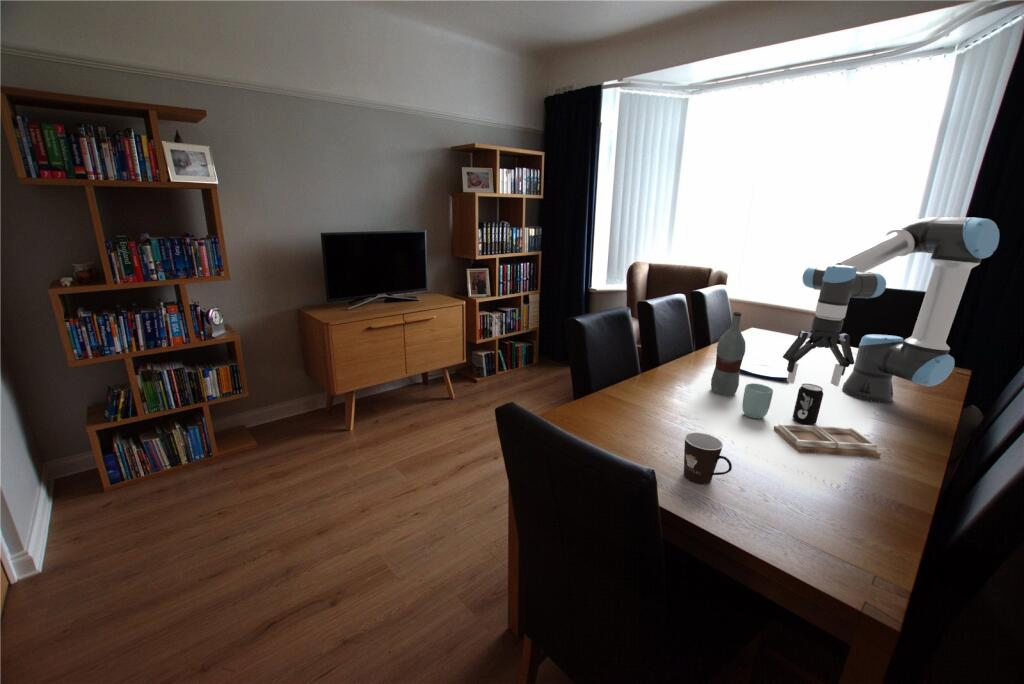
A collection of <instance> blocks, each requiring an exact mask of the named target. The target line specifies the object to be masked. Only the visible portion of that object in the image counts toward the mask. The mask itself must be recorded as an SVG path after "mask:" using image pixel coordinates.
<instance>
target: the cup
mask: <svg viewBox="0 0 1024 684" xmlns="http://www.w3.org/2000/svg"><path fill="white" fill-rule="evenodd" d="M773 393H774V390H773V388H772V387H769V386H767V385H764V384H761V383H756V382H755V383H754V382H753V383H747V384H746V385H745V387H744V391H743V396H742V404H741V405H742V407H741V408H742V413H743V414H744V415H745V416H746V417H749V418H751V419H755V420H758V419H759V420H760V419H763V418H765V417H766V416H767V415H768V412H769V410H770V407H771V403H772V399H773Z"/></svg>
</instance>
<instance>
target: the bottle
mask: <svg viewBox="0 0 1024 684" xmlns="http://www.w3.org/2000/svg"><path fill="white" fill-rule="evenodd" d="M732 314H733V315H732V318H731V324H730V327H729V328H728V329H727V330H726V331H725V332H724V333H723V334H722V335H721V336H720V338H719V340H718V342H717V346H716V355H715V356H716V357H715V367H714V370H713V373H712V377H711V379H710V389H711V392H712V393H713V394H716V395H719V396H723V397H734V396H735V395H736V393H737V391H738V390H739V388H738V387H739V385H740V372H741V371H740V367H741V364H742V360H743V357H745V354H746V341H745V338H744V336H743V333H742V332H741V329H740V324H741V318H742V312H740V311H733V313H732Z"/></svg>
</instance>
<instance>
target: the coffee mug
mask: <svg viewBox="0 0 1024 684" xmlns="http://www.w3.org/2000/svg"><path fill="white" fill-rule="evenodd" d="M723 447H724V444H723V442H722V440H720V439H719V438H718V437H715V436H714V435H711V434H707V433H703V432H689V433H686V434H685V435H684V454H683V455H684V456H683V458H684V459H683V476H684V478H685V479H686V480H687V481H689V482H691V483H693V484H696V485H709V484H710V483H711V482H712V479H713V476H721V475H722V476H724V475H726V474H729V473H730V472H731V471H732V468H733V465H732V462H731V460H730V459H729V458H727V456H724V455H721V452H722V449H723ZM720 459H722V460H724V461H726V462H727V465H728V469H727V470H725V471H721V472H719V471H718V472H715V470H716V467H717V464H718V461H719V460H720Z"/></svg>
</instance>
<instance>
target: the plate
mask: <svg viewBox="0 0 1024 684" xmlns="http://www.w3.org/2000/svg"><path fill="white" fill-rule="evenodd" d="M787 366H788V364H781V363H780V364H779V363H774V362H767V361H763V360H757V359H754V358H750V357H745V356H744V357H743V360H742V364H741V367H740V371H739V372H742V373H745V374H748V375H749V376H750V375H751V376H754V377H758V378H763V379H769V380H786V381H787V377H788V373H789V372H788V371H787Z"/></svg>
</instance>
